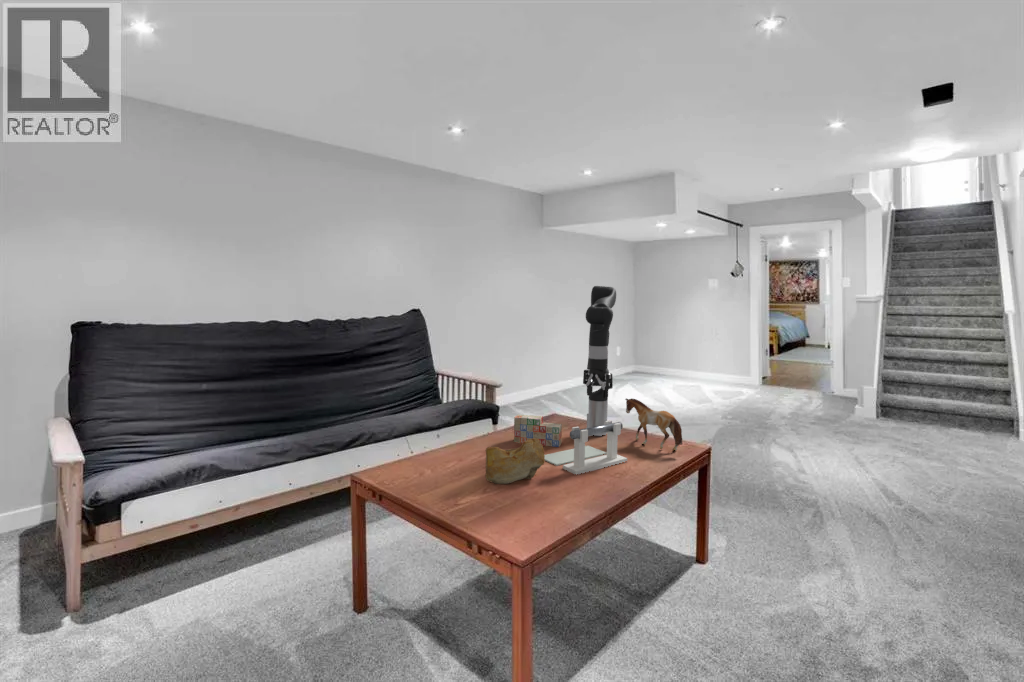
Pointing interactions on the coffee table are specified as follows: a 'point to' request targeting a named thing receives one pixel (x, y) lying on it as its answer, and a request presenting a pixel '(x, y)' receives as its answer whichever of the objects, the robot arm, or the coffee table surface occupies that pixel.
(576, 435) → the rail
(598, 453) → the mat
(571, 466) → the rack
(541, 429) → the stack of blocks
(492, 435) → the coffee table surface
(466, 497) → the coffee table surface
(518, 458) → the rough brown rock
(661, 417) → the horse figurine
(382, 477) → the coffee table surface
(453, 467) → the coffee table surface
